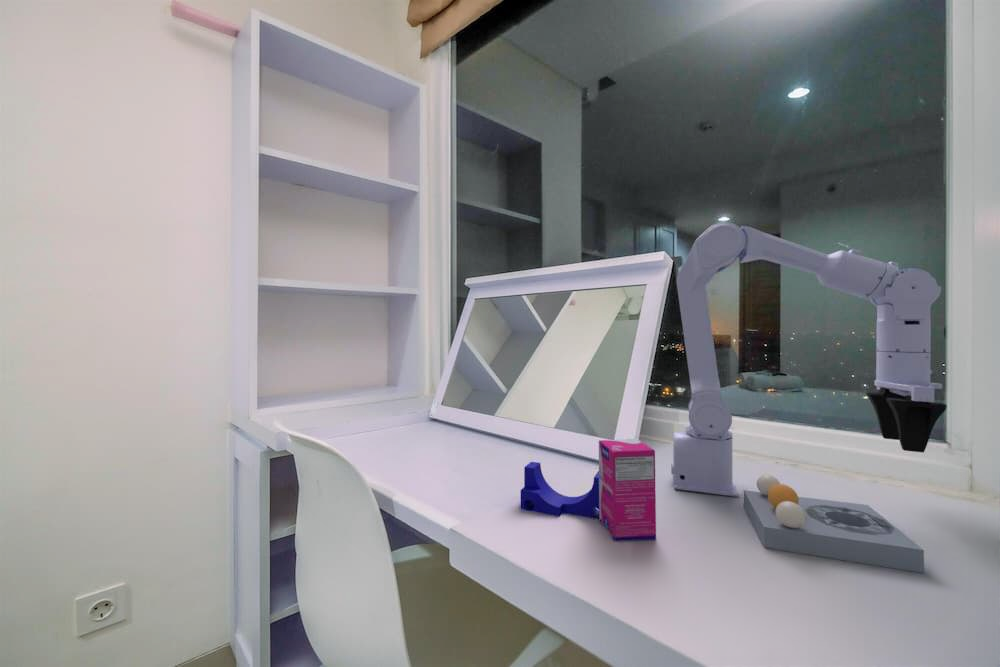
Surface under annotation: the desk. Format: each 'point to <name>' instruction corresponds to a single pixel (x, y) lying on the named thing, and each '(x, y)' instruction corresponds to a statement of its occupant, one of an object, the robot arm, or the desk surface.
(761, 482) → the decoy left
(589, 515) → the blue curved bracket
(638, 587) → the desk surface
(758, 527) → the grey socket plate
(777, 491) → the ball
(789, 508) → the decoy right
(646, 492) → the supplement box
